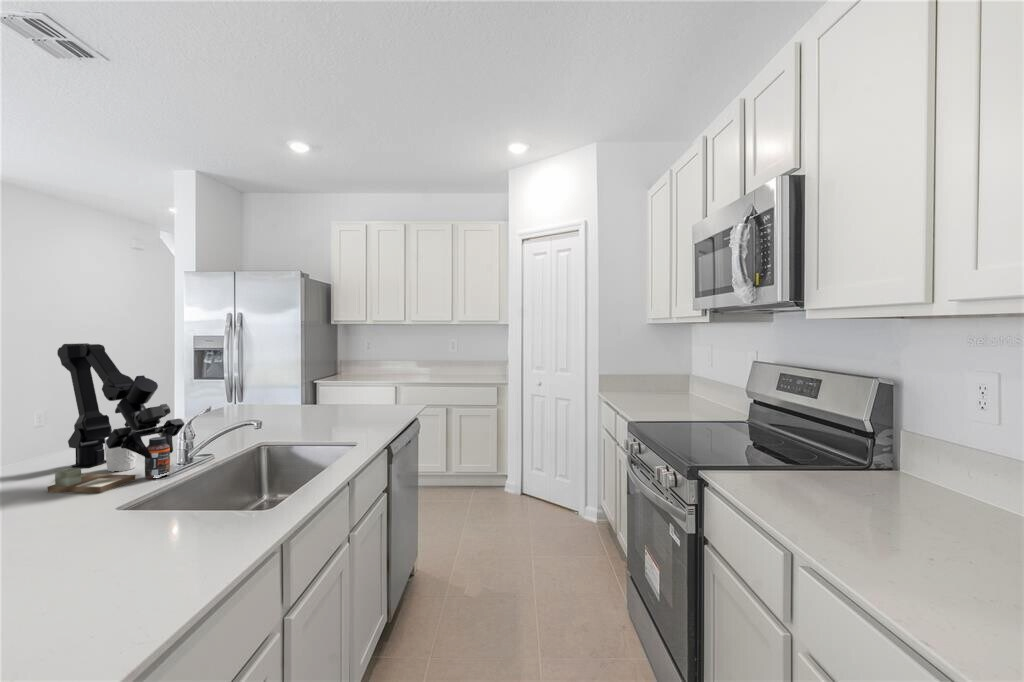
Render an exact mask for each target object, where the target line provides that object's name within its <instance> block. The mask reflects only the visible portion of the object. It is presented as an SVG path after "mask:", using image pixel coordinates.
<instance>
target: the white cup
mask: <svg viewBox="0 0 1024 682" xmlns="http://www.w3.org/2000/svg"><path fill="white" fill-rule="evenodd" d="M107 439H108V437H106V438H105V444H104V453H105V460H106V462H105V463H106V469H107V470H108V471H107V470H106V471H107V472H109V471H112V472H111V473H114V471H119V472H124V471H125V470H126V471H129V470H132V469H135V468H136V467H137V455H138V453H136V452H133V451H131V450H128V449H126V448H123V449H122V448H121V447H117V448H112V449H110V448H108V446H107V444H106V440H107ZM121 446H122V445H121Z"/></svg>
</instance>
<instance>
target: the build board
mask: <svg viewBox="0 0 1024 682" xmlns="http://www.w3.org/2000/svg"><path fill="white" fill-rule="evenodd" d="M134 481H136V474H104V473H103V474H100V473H99V474H98V473H96V474H93V473H91V474H89V473H85V474H82V468H72V467H71V468H65V469H62V470H57V471H55V472H54V484H51V485H48V486H47V491H46V492H47V493H59V492H87V493H86V494H103V493H104V492H106V491H109V490H112V488H113V489H115V488H118V487H121V486H123V485H126V484H128V483H131V482H134ZM120 485H121V486H120Z"/></svg>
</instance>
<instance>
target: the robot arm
mask: <svg viewBox="0 0 1024 682" xmlns="http://www.w3.org/2000/svg"><path fill="white" fill-rule="evenodd" d="M56 354H57V357H58V358H59V360H60V364H61V366H62V367H64V369H66V371H68V372H69V373H70V377H71V383H72V387H73V392H74V398H75V402H76V403H75V404H76V407H77V410H78V411H77V412H78V418H77V419H76V421H75V423H74V425H73V426H74V427H73V428H74V431H73V433H72V434H71V436H70V437H69V438H68V440H67V443H68V447H69V448H70V449H75V463H74V464H71V465H70V467H71V466H75V467H74V468H78V467H79V468H91V467H95V465H96V466H99V465H102V464H104V462H105V463H107V462H106V459H105V448H104V445H105V438H106V437H108V439H107V440H106V444H107V446H108V448H110V449H112V448H117V447H121V448H122V449H123V448H126V449H128V450H131V451H133V452H136V453H137V455H140V456H142V457H144V458H145V457H146V458H149V457H150V453H149V451H148V449H147V448H146V447H147V446H146V445H145V443H144V441H143V439H142V437H147V436H148V437H149V436H152V435H157V434H158V437H166V443H167V444H168V445H169V446H170V454H172V453H173V451H174V444H173V437H175V436H177V435H178V434H179V433H180V431H181V430H182V429H183V427H184V426H185V422H184V420H183V419H182V418H174V419H173V418H172V419H167V420H166V421H165V423H164V424H163V425H161V426H158V425H159V424H160V423H161V419H162V418H165V417H166V416H168V415H169V414H170V413H171V409H170V406H169V405H168V404H167V403H163V404H160V405H158V406H151V407H147V408H146V406H145V405H144V404H147V403H148V402H150V400H151V398H152V397H153V396H154V394H155V392H157V391H158V390H157V389H158V388H159V384H158V383H157V381H155V380H153V379H150V378H149V377H145V374H144V375H137V376H136V377H135V378H134V379H133V378H131V377H130V376H129V375H127V374H126V375H125V374H124V373H122V372H121V371H120V370H119V368H118V367H117V366H116V364H115V363H114V362H113V360H112V359H111V357H110V356H109V354H108V353H107V351H106V348H105V346H104V345H103V344H99V343H95V344H94V343H93V344H92V343H85V342H84V343H64V344H62V345H61V347H58V348H57V353H56ZM91 369H93V371H94V372H95V373H96V375H97V376H98V378H99V379H100V380H101V382H102V386H101V391H102V393H103V396H104V397H105V398H106V400H107V401H109V402H116V401H119V402H118V404H116V408H115V409H114V413H115V414H120V413H121V415H122V417H123V418H124V420H125V423H124V424H123V425H124V426H125V427H120V428H114V429H113V428H112V425H111V423H110V416H108V415H107V414H103V413H102V412H100V408H99V404H98V400H97V399H98V398H97V394H96V389H95V384H94V380H93V375H92V370H91ZM112 429H113V430H112ZM121 445H122V446H121ZM101 463H102V464H101ZM98 464H99V465H98Z"/></svg>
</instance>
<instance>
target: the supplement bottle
mask: <svg viewBox="0 0 1024 682" xmlns="http://www.w3.org/2000/svg"><path fill="white" fill-rule="evenodd" d="M146 448H147V449H148V451H149V453H150V457H149V458H146V457H144V478H145V479H148V480H151V479H152V478H153V477H154V475H160V474H164V473H167V472H169V471H170V472H171V453H170V446H169V445H168V444H167V443H166V437H160V436H155V437H151V438H149V439H148V445H147V446H146ZM152 480H153V479H152Z"/></svg>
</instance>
